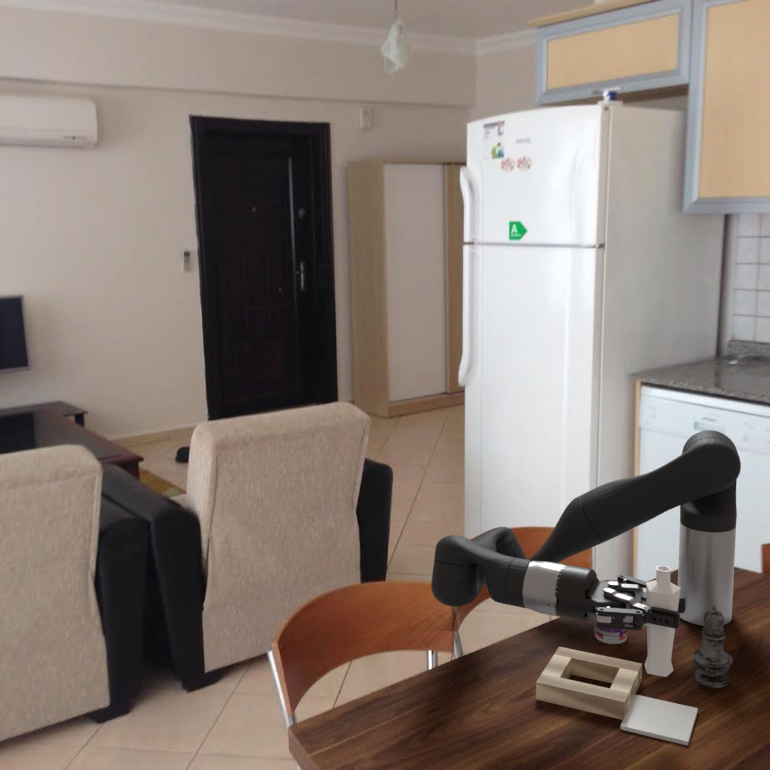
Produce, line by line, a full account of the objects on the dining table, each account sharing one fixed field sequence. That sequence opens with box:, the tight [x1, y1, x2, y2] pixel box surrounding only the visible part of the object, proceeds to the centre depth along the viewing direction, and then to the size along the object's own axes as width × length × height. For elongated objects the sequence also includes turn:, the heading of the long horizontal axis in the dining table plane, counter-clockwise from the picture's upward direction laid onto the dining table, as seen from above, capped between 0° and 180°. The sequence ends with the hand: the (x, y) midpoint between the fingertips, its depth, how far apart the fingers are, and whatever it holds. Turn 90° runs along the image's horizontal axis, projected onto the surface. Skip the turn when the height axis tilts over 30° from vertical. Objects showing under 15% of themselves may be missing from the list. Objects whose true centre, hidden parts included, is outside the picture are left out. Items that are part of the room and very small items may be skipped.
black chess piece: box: [691, 606, 733, 689], centre depth 132 cm, size 6×6×12 cm
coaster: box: [620, 693, 699, 746], centre depth 122 cm, size 9×9×1 cm
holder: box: [535, 646, 643, 721], centre depth 130 cm, size 12×13×3 cm
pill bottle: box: [594, 579, 628, 645], centre depth 146 cm, size 5×5×10 cm
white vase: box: [644, 565, 681, 678], centre depth 119 cm, size 5×4×15 cm
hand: (681, 612), depth 118 cm, fingers closed on white vase, 4 cm apart
